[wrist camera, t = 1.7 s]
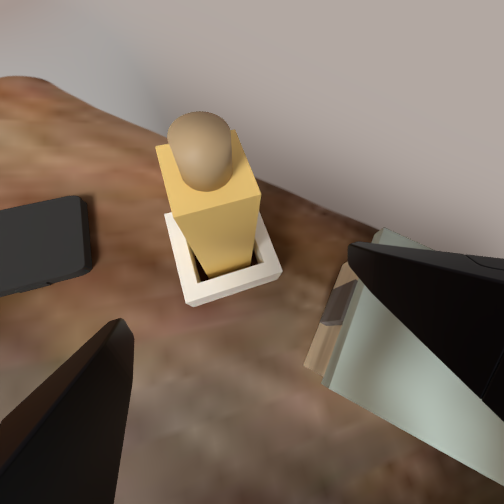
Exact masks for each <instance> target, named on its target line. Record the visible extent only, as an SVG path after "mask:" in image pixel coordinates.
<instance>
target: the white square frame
mask: <svg viewBox="0 0 504 504" xmlns="http://www.w3.org/2000/svg"><path fill="white" fill-rule="evenodd" d="M164 215H165V219H166V223H167V228H168V232H169V236H170V240H171V244H172V248H173V252H174V256H175V261H176V265H177V269H178V273H179V277H180V281H181V285H182V290H183V294H184V298H185V302H186V303H187V304H188V305H190V306H192V307H195V306H198V305H201V304H204V303H207V302H211V301H214V300H217V299H220V298H223V297H226V296H229V295H232V294H235V293H238V292H241V291H244V290H247V289H250V288H253V287H256V286H259V285H262V284H265V283H268V282H271V281H274V280H277V279H278V278H279V276H280V275H281V273H282V272H283V271H282V268H281V265H280V263H279V260H278V258H277V255H276V253H275V250H274V248H273V245H272V243H271V240H270V237H269V235H268V232H267V230H266V227H265V225H264V222H263V220H262V217H261V215H260V212H259V213H258V219H257V226H256V232H255V239H254V245H253V251H254V254H255V257H256V259H257V262H258V264H257V265H254V266H251V267H248V268H245V269H242V270H238V271H235V272H232V273H229V274H226V275H223V276H219V277H216V278H213V279H210V280H207V281H203V282H201V280H200V276H199V273H198V269H197V265H196V262H195V258H194V254H193V250H192V249H191V247H190V245H189V244H188V242H187V240H186V238H185V237H184V235H183V233H182V232H181V230H180V228H179V227H178V225H177V223H176V221H175V220H174V218H173V215H172V212H171V213H167V214H164Z"/></svg>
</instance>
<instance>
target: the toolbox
mask: <svg viewBox="0 0 504 504" xmlns="http://www.w3.org/2000/svg"><path fill="white" fill-rule="evenodd" d="M372 243H376V244H384V245H392V246H400V247H408V248H417V249H425V250H433V249H431V248H428V247H426V246H424V245H422V244H420V243H418V242H415V241H413V240H411V239H409V238H407V237H404V236H402V235H400V234H398V233H396V232H393V231H391V230H389V229H387V228H383V229H381V230H380V231H378V232H377V233H376V234H374V237H373V240H372ZM433 251H435V250H433ZM303 366H305V367H306V368H308V369H310V370H312V371H314V372H315V373H317V374H319V375H321V376H323V380H322V383H321V384H323V385H324V386H326V387H327V388H329V389H331V390H332V391H334V392H336V393H338V394H340V395H341V396H343V397H345V398H347V399H349V400H350V401H352V402H354V403H356V404H357V405H359V406H361V407H363V408H365V409H366V410H368V411H370V412H372V413H374V414H375V415H377V416H379V417H381V418H383V419H384V420H386V421H388V422H390V423H392V424H393V425H395V426H397V427H399V428H400V429H402V430H404V431H406V432H408V433H409V434H411V435H413V436H415V437H417V438H418V439H420V440H422V441H424V442H426V443H427V444H429V445H431V446H433V447H434V448H436V449H438V450H440V451H442V452H443V453H445V454H447V455H449V456H451V457H452V458H454V459H456V460H458V461H460V462H461V463H463V464H465V465H467V466H469V467H470V468H472V469H474V470H476V471H477V472H479V473H481V474H483V475H485V476H486V477H488V478H490V479H492V480H494V481H495V482H497V483H499V484H501V485H503V486H504V422H503V421H502V420H501V419H500V418H499V417H498V416H497V415H496V414H495V413H494V412H493V411H492V410H491V409H490V408H489V407H488V406H487V405H486V404H485V403H483V402H482V399H480V398H479V397H478V396H477V395H475V394H474V393H473V392H472V391H471V390H470V389H469V388H468V387H467V386H466V385H465V384H464V383H463V382H462V381H461V380H460V379H459V378H458V377H457V376H456V375H455V374H454V373H453V372H452V371H451V370H450V369H449V368H448V367H447V366H446V365H445V364H444V363H443V362H442V361H441V360H440V359H439V358H437V357H436V356H435V355H434V354H433V353H432V352H431V351H430V350H429V349H428V348H427V347H426V346H425V345H424V344H423V343H422V342H421V341H420V340H419V339H418V338H417V337H416V336H415V335H414V334H413V333H412V332H411V331H410V330H409V329H408V328H407V327H406V326H405V325H404V324H403V323H402V322H400V321H399V320H398V319H397V318H396V317H395V316H394V315H393V314H392V313H391V312H390V311H389V310H388V309H387V308H386V307H385V306H384V305H383V304H382V303H381V302H380V301H379V300H378V299H377V298H376V297H375V296H374V295H373V294H372V293H371V292H370V291H369V290H368V288H367V287H366V286H365V285H364V284H363V282H362V281H361V280H360V279H359V278H358V276H357V275H356V274H355V273H354V272H353V270H352V269H351V268H350V267H349V265H348V261H347V262H346V263H344V264H343V265H342V267H341V270H340V273H339V275H338V278H337V280H336V283H335V285H334V288H333V290H332V292H331V295H330V297H329V300H328V302H327V305H326V307H325V310H324V312H323V315H322V318H321V320H320V324H319V326H318V329H317V331H316V334H315V336H314V339H313V341H312V344H311V347H310V349H309V352H308V354H307V357H306V359H305V362H304V364H303Z"/></svg>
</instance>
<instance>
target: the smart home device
mask: <svg viewBox="0 0 504 504" xmlns="http://www.w3.org/2000/svg"><path fill="white" fill-rule="evenodd" d="M91 270H92V259H91V247H90V235H89V223H88V211H87V203H86V202H84V201H83V200H82V199H81V198H80V197H78V196H66V197H61V198H56V199H52V200H47V201H42V202H38V203H33V204H28V205H23V206H19V207H14V208H9V209H4V210H0V297H2V296H6V295H10V294H14V293H18V292H20V293H22V292H26V291H29V290H33V289H37V288H41V287H45V286H49V285H51V284H52V283H56V282H60V281H64V280H68V279H71V278H75V277H79V276H82V275H84V274H87V273H88V272H90V271H91Z"/></svg>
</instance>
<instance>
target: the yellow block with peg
mask: <svg viewBox="0 0 504 504" xmlns="http://www.w3.org/2000/svg"><path fill="white" fill-rule="evenodd" d="M167 138H168V142H169V144H165V145H161V146H156V147H155V148H156V152H157V156H158V160H159V164H160V167H161V171H162V175H163V179H164V183H165V187H166V191H167V195H168V199H169V203H170V207H171V211H172V215H173V218H174V220H175V221H176V223H177V225H178V227H179V228H180V230H181V232H182V233H183V235H184V237H185V238H186V240H187V242H188V244H189V245H190V247H191V249H192V250H193V252H194V254H195V255H196V257H197V259H198V261H199V262H200V264H201V266H202V267H203V269H204V271H205V272H206V274H207V276H208V278H209V279H212V278H215V277H218V276H221V275H225V274H228V273H231V272H234V271H237V270H240V269H244V268H247V267H250V265H251V258H252V252H253V245H254V239H255V232H256V226H257V219H258V213H259V206H260V200H261V192H260V190H259V187H258V185H257V182H256V180H255V178H254V175H253V173H252V170H251V168H250V165H249V163H248V161H247V158H246V156H245V153H244V151H243V148H242V146H241V143H240V141H239V138H238V136H237V133H236V131H235V130H230V128H229V126H228V124H227V123H226V122H225V121H224V120H223V119H222V118H220V117H219V116H217V115H215V114H212V113H209V112H200V111H199V112H191V113H188V114H185V115H183V116H180V117H179V118H177V119H176V120H175V121H174V122H173V123H172V124H171V126H170V128H169V130H168V135H167Z"/></svg>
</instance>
